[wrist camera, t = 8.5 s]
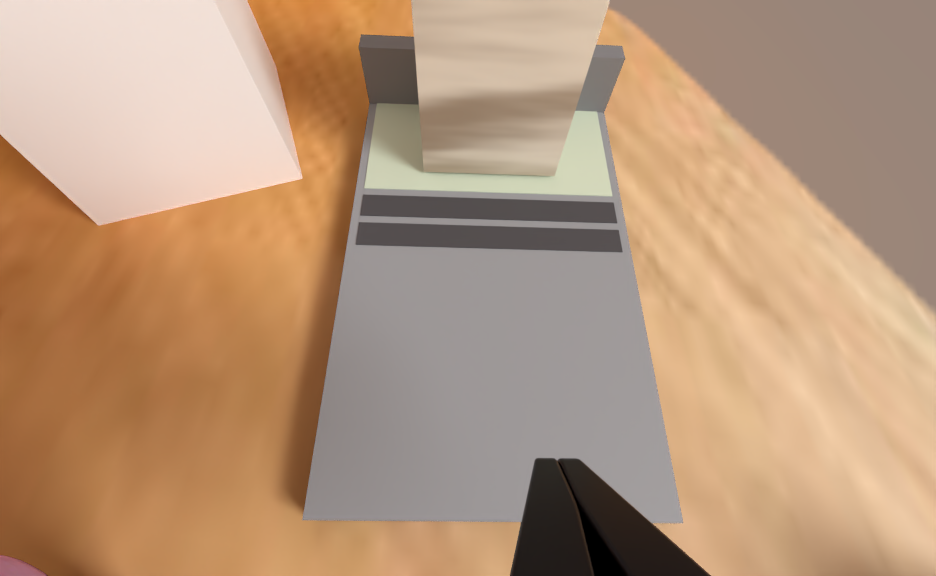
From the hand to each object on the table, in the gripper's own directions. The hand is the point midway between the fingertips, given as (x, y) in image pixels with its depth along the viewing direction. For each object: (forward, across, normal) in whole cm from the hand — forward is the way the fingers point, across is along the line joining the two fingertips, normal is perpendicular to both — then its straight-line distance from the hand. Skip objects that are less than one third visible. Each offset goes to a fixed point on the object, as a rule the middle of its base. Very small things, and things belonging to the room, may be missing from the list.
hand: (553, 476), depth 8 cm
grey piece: (+18, 0, +1) cm, 18 cm away
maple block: (+22, 0, -7) cm, 23 cm away
